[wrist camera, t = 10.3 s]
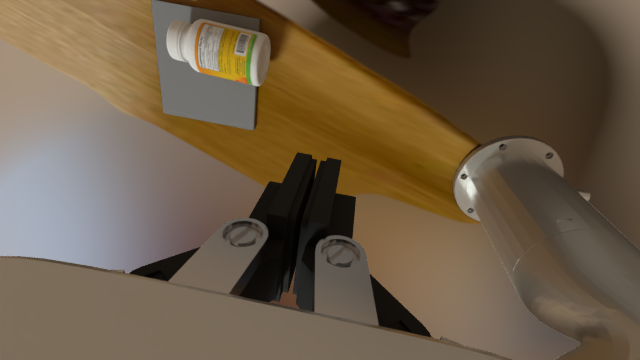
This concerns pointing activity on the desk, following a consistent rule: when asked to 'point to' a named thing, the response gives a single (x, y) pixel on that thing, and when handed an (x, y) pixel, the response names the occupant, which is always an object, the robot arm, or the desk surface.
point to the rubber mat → (198, 88)
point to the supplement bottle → (220, 50)
